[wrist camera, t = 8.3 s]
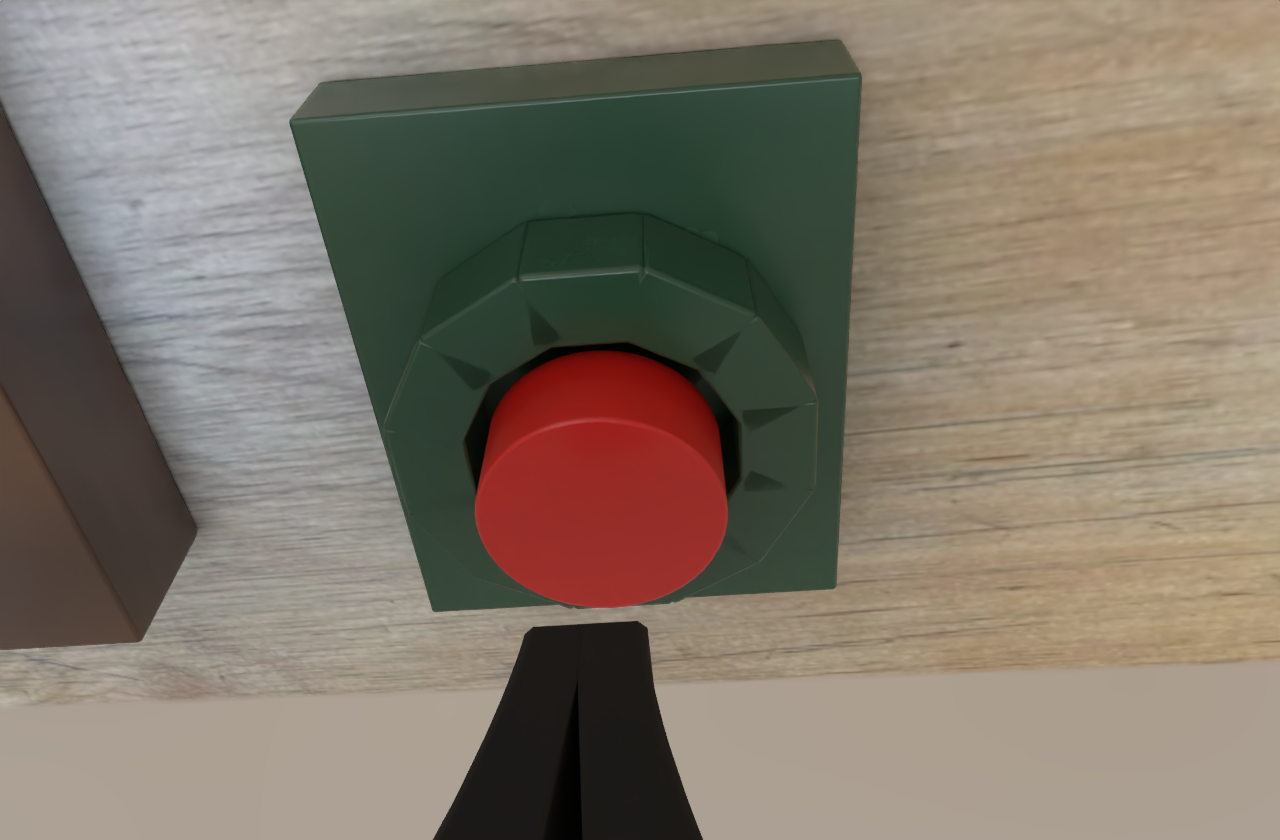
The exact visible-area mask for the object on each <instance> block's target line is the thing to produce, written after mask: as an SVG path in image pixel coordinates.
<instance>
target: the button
mask: <svg viewBox="0 0 1280 840" xmlns="http://www.w3.org/2000/svg"><path fill="white" fill-rule="evenodd" d="M475 519H476V525H477V529H478V532H479V535H480V538H481V540H482V542H483V544H484V546H485V548H486V550H487V552H488V553H489V555H490V556H491V557H492V559H493V560H494V562H495V563H496V564H497V565H498V566H499V567H500V568H501V569H502V570H503V571H504V572H505V573H506V574H507V575H509V576H510V577H511V578H512V579H513V580H515V581H516V582H518V583H519V584H521V585H522V586H524V587H526V588H527V589H529V590H531V591H533V592H535V593H537V594H539V595H542V596H544V597H547V598H550V599H552V600H555V601H559V602H563V603H566V604H571V605H577V606H583V607H595V608H614V607H624V606H631V605H636V604H641V603H645V602H649V601H652V600H655V599H658V598H661V597H663V596H665V595H668V594H670V593H672V592H674V591H676V590H678V589H679V588H681V587H683V586H685V585H686V584H687V583H689V582H690V581H692V580H693V579H694V578H695V577H697V576H698V575H699V574H700V573H701V572H702V571H703V570H704V569H705V568H706V567H707V565H708V564H709V563H710V562H711V561H712V559H713V558H714V556H715V554H716V553H717V551H718V549H719V548H720V546H721V543H722V541H723V538H724V536H725V532H726V528H727V523H728V505H727V495H726V486H725V477H724V468H723V459H722V450H721V441H720V433H719V427H718V424H717V421H716V417H715V415H714V413H713V411H712V409H711V407H710V405H709V404H708V402H707V401H706V399H705V398H704V396H703V395H702V394H701V393H700V392H699V391H698V389H697V388H696V387H695V386H694V385H693V384H692V383H691V382H689V381H688V380H687V379H686V378H685V377H683V376H682V375H681V374H679V373H678V372H676V371H675V370H673V369H671V368H670V367H668V366H666V365H664V364H662V363H660V362H658V361H655V360H653V359H650V358H647V357H644V356H641V355H637V354H632V353H627V352H621V351H610V350H594V351H585V352H577V353H573V354H568V355H564V356H561V357H558V358H555V359H553V360H550V361H547V362H545V363H543V364H541V365H540V366H538V367H536V368H534V369H532V370H531V371H530V372H528V373H527V374H525V375H524V376H522V377H521V378H520V379H519V380H518V381H517V382H516V383H515V384H513V385H512V386H511V387H510V389H509V390H508V391H507V392H506V394H505V395H504V396H503V397H502V399H501V401H500V402H499V404H498V406H497V407H496V409H495V412H494V415H493V417H492V420H491V424H490V429H489V434H488V439H487V444H486V449H485V454H484V459H483V464H482V469H481V474H480V479H479V484H478V489H477V494H476V499H475Z"/></svg>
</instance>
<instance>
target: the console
mask: <svg viewBox="0 0 1280 840" xmlns="http://www.w3.org/2000/svg"><path fill="white" fill-rule="evenodd" d="M196 536H197V530H196V528H195V526H194V524H193V522H192V520H191V517H190V515H189V513H188V511H187V509H186V507H185V505H184V502H183V500H182V498H181V496H180V494H179V492H178V489H177V487H176V485H175V483H174V481H173V479H172V476H171V474H170V472H169V470H168V468H167V466H166V464H165V461H164V459H163V457H162V455H161V453H160V451H159V448H158V446H157V444H156V442H155V440H154V438H153V435H152V433H151V431H150V429H149V427H148V425H147V423H146V420H145V418H144V416H143V414H142V412H141V410H140V407H139V405H138V403H137V401H136V399H135V397H134V395H133V392H132V390H131V388H130V386H129V384H128V382H127V379H126V377H125V375H124V373H123V371H122V369H121V366H120V364H119V362H118V360H117V358H116V356H115V354H114V351H113V349H112V347H111V345H110V343H109V341H108V338H107V336H106V334H105V332H104V330H103V328H102V325H101V323H100V321H99V319H98V317H97V315H96V313H95V310H94V308H93V306H92V304H91V302H90V300H89V297H88V295H87V293H86V291H85V289H84V287H83V285H82V282H81V280H80V278H79V276H78V274H77V272H76V269H75V267H74V265H73V263H72V261H71V259H70V256H69V254H68V252H67V250H66V248H65V246H64V244H63V241H62V239H61V237H60V235H59V233H58V231H57V228H56V226H55V224H54V222H53V220H52V218H51V215H50V213H49V211H48V209H47V207H46V205H45V203H44V200H43V198H42V196H41V194H40V192H39V190H38V187H37V185H36V183H35V181H34V179H33V177H32V175H31V172H30V170H29V168H28V166H27V164H26V162H25V159H24V157H23V155H22V153H21V151H20V149H19V146H18V144H17V142H16V140H15V138H14V136H13V134H12V131H11V129H10V127H9V125H8V123H7V121H6V118H5V116H4V114H3V112H2V110H1V108H0V650H11V649H29V648H46V647H64V646H82V645H99V644H117V643H135V642H140V641H141V640H142V639H143V637H144V635H145V634H146V632H147V630H148V628H149V626H150V624H151V622H152V620H153V618H154V616H155V614H156V612H157V611H158V609H159V607H160V605H161V603H162V601H163V599H164V597H165V595H166V593H167V591H168V589H169V588H170V586H171V584H172V582H173V580H174V578H175V576H176V574H177V572H178V570H179V568H180V566H181V565H182V563H183V561H184V559H185V557H186V555H187V553H188V551H189V549H190V547H191V545H192V543H193V542H194V540H195V538H196Z"/></svg>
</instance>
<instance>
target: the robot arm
mask: <svg viewBox="0 0 1280 840" xmlns="http://www.w3.org/2000/svg"><path fill="white" fill-rule="evenodd" d="M433 840H703V838H702V836H701V833H700V831H699V828H698V826H697V823H696V820H695V818H694V815H693V813H692V810H691V807H690V805H689V802H688V799H687V796H686V793H685V791H684V788H683V785H682V782H681V779H680V776H679V773H678V770H677V767H676V764H675V761H674V758H673V755H672V752H671V749H670V746H669V742H668V739H667V736H666V732H665V729H664V725H663V722H662V718H661V714H660V710H659V706H658V702H657V698H656V694H655V689H654V682H653V673H652V664H651V656H650V647H649V638H648V629H647V627H645V626H644V625H642V624H641V623H639V622H638V621H631V622H613V623H595V624H577V625H560V626H542V627H533V628H532V629H530V630H529V631H528V632H527V633H526V634H525V636H524V639H523V642H522V645H521V648H520V651H519V654H518V657H517V660H516V663H515V665H514V668H513V671H512V674H511V676H510V679H509V681H508V684H507V687H506V689H505V691H504V694H503V696H502V699H501V701H500V704H499V706H498V708H497V711H496V713H495V715H494V718H493V720H492V722H491V725H490V727H489V729H488V731H487V734H486V736H485V738H484V740H483V742H482V744H481V746H480V749H479V750H478V752H477V755H476V757H475V759H474V761H473V763H472V765H471V767H470V769H469V771H468V773H467V775H466V777H465V780H464V782H463V784H462V786H461V788H460V790H459V792H458V794H457V796H456V798H455V800H454V802H453V804H452V806H451V808H450V809H449V811H448V813H447V815H446V817H445V818H444V820H443V822H442V824H441V826H440V828H439V829H438V831H437V833H436V835H435V837H434V839H433Z"/></svg>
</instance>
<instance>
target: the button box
mask: <svg viewBox="0 0 1280 840" xmlns="http://www.w3.org/2000/svg"><path fill="white" fill-rule="evenodd" d="M861 85H862V76H861V73H860V72H859V70H858V68H857V66H856V65H855V63H854V61H853V59H852V58H851V56H850V54H849V53H848V51H847V49H846V47H845V46H844V44H843V42H842V41H841V40H831V41H819V42H807V43H795V44H783V45H771V46H758V47H746V48H734V49H722V50H710V51H698V52H686V53H674V54H662V55H650V56H638V57H626V58H614V59H602V60H589V61H577V62H565V63H553V64H541V65H529V66H517V67H505V68H493V69H481V70H469V71H457V72H445V73H433V74H420V75H408V76H396V77H384V78H372V79H360V80H348V81H336V82H324V83H320V84H318V86H317V87H316V88H315V89H314V91H313V92H312V93H311V94H310V96H309V97H308V98H307V99H306V101H305V102H304V103H303V104H302V105H301V107H300V108H299V109H298V110H297V112H296V113H295V114H294V115H293V117H292V118H291V119H290V127H291V130H292V134H293V137H294V140H295V144H296V147H297V151H298V154H299V158H300V161H301V164H302V168H303V171H304V175H305V178H306V181H307V185H308V188H309V192H310V195H311V198H312V202H313V205H314V209H315V212H316V215H317V219H318V222H319V226H320V229H321V232H322V236H323V239H324V243H325V246H326V249H327V253H328V256H329V260H330V263H331V266H332V270H333V273H334V277H335V280H336V283H337V287H338V290H339V294H340V297H341V301H342V304H343V307H344V311H345V314H346V318H347V321H348V324H349V328H350V331H351V335H352V338H353V341H354V345H355V348H356V352H357V355H358V358H359V362H360V365H361V369H362V372H363V375H364V379H365V382H366V386H367V389H368V392H369V396H370V399H371V403H372V406H373V409H374V413H375V416H376V420H377V423H378V426H379V430H380V433H381V437H382V440H383V444H384V447H385V450H386V454H387V457H388V461H389V464H390V467H391V471H392V474H393V478H394V481H395V484H396V488H397V491H398V495H399V498H400V501H401V505H402V508H403V512H404V515H405V518H406V522H407V525H408V529H409V532H410V535H411V539H412V542H413V546H414V549H415V552H416V556H417V559H418V563H419V566H420V570H421V573H422V576H423V580H424V583H425V587H426V590H427V593H428V597H429V600H430V604H431V607H432V610H433V611H434V612H442V611H460V610H477V609H495V608H512V607H530V606H547V605H561V606H564V607H567V608H573V607H575V608H577V609H584V608H595V607H583V606H577V605H571V604H566V603H563V602H559V601H555V600H552V599H550V598H547V597H544V596H542V595H539V594H537V593H535V592H533V591H531V590H529V589H527V588H526V587H524V586H522V585H521V584H519V583H518V582H516V581H515V580H513V579H512V578H511V577H510V576H509V575H507V574H506V573H505V572H504V571H503V570H502V569H501V568H500V567H499V566H498V565H497V564H496V563H495V562H494V560H493V559H492V557H491V556H490V555H489V553H488V552H487V550H486V548H485V546H484V544H483V542H482V540H481V538H480V535H479V532H478V529H477V525H476V519H475V499H476V494H477V489H478V484H479V479H480V474H481V469H482V464H483V459H484V454H485V449H486V444H487V439H488V434H489V429H490V424H491V420H492V417H493V415H494V412H495V409H496V407H497V406H498V404H499V402H500V401H501V399H502V397H503V396H504V395H505V394H506V392H507V391H508V390H509V389H510V387H511V386H512V385H513V384H515V383H516V382H517V381H518V380H519V379H520V378H521V377H522V376H524V375H525V374H527V373H528V372H530V371H531V370H532V369H534V368H536V367H538V366H540V365H541V364H543V363H545V362H547V361H550V360H553V359H555V358H558V357H561V356H564V355H568V354H573V353H577V352H585V351H594V350H610V351H621V352H627V353H632V354H637V355H641V356H644V357H647V358H650V359H653V360H655V361H658V362H660V363H662V364H664V365H666V366H668V367H670V368H671V369H673V370H675V371H676V372H678V373H679V374H681V375H682V376H683V377H685V378H686V379H687V380H688V381H689V382H691V383H692V384H693V385H694V386H695V387H696V388H697V389H698V391H699V392H700V393H701V394H702V395H703V396H704V398H705V399H706V401H707V402H708V404H709V405H710V407H711V409H712V411H713V413H714V415H715V417H716V421H717V424H718V427H719V433H720V441H721V450H722V459H723V468H724V477H725V486H726V495H727V505H728V523H727V528H726V532H725V536H724V538H723V541H722V543H721V546H720V548H719V549H718V551H717V553H716V554H715V556H714V558H713V559H712V561H711V562H710V563H709V564H708V565H707V567H706V568H705V569H704V570H703V571H702V572H701V573H700V574H699V575H698V576H697V577H695V578H694V579H693V580H692V581H690V582H689V583H687V584H686V585H685V586H683V587H681V588H679V589H678V590H676V591H674V592H672V593H670V594H668V595H665V596H663V597H661V598H658V599H655V600H652V601H649V602H645V603H641V604H636V605H654V604H669V603H671V602H674V603H675V602H678V601H680V600H683V599H685V598H687V597H704V596H722V595H739V594H756V593H774V592H791V591H809V590H826V589H835V588H836V582H837V562H838V542H839V522H840V502H841V483H842V463H843V443H844V423H845V403H846V383H847V363H848V343H849V324H850V304H851V284H852V264H853V244H854V224H855V204H856V184H857V164H858V145H859V125H860V105H861ZM636 605H631V606H636Z"/></svg>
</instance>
